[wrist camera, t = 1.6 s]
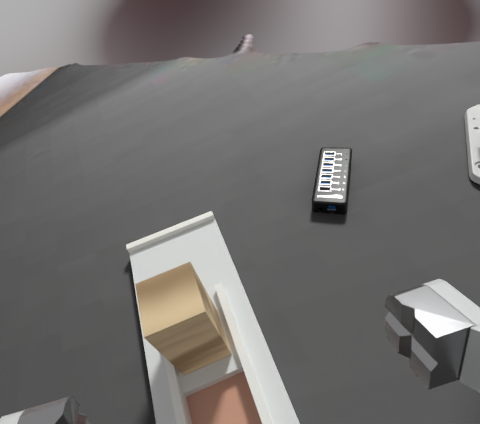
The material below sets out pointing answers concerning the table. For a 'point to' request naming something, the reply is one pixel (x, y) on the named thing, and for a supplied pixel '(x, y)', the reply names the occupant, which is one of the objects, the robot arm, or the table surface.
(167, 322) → the block
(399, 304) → the robot arm
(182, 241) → the channel
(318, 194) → the multiport hub
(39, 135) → the table surface
